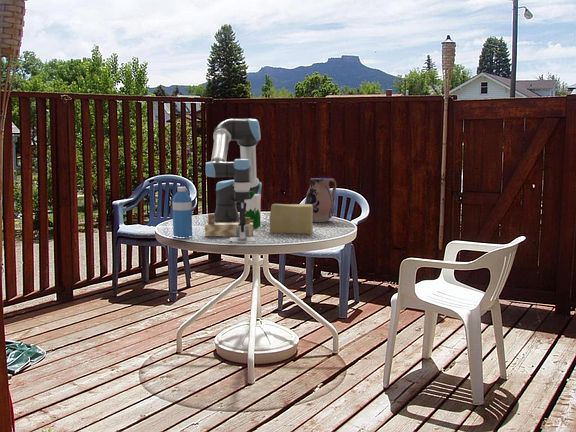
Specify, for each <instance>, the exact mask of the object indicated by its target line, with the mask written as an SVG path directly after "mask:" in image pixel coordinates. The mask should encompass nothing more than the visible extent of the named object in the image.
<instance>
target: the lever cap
mask: <svg viewBox="0 0 576 432" xmlns="http://www.w3.org/2000/svg"><path fill="white" fill-rule="evenodd" d="M235 237H240V226H237V227H236V236H235ZM245 237H250V236H249V228H248V227H245Z"/></svg>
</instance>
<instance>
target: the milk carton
mask: <svg viewBox="0 0 576 432" xmlns="http://www.w3.org/2000/svg"><path fill="white" fill-rule="evenodd" d="M249 192H250V199H248V200H244V201H245V203H246V212H245V217H250V223H253V229H258V228H260V227H261V224H262V223H261V221H262V220H261V216H262V215H261V214H262V213H261V199H262V198H261V197H262V193H261V194H254V191H249Z"/></svg>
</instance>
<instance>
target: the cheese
mask: <svg viewBox="0 0 576 432" xmlns="http://www.w3.org/2000/svg"><path fill="white" fill-rule="evenodd" d="M313 223H314V222H313V205H312V204H305V203H304V204H301V203H299V204H298V203H294V204H293V203H291V204H288V203H287V204H286V203H284V204H283V203H273V204H271V206H270V213H269V233H271V234H272V233H275V234H276V233H278V234H295V233H296V234H299V235H300V234H301V235H312V233H313V228H314V227H313Z"/></svg>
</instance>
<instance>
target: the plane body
mask: <svg viewBox="0 0 576 432" xmlns="http://www.w3.org/2000/svg"><path fill="white" fill-rule="evenodd" d="M245 219H246V221H245V227H248V228H249V236H248V237H254V228H253V223H250V217H245ZM238 224H239V222H215V220H214V213H208V214H207V222H205V223H204V227H205V229H204V234H205V235H204V237H205V236H223V237H237V236H236V227H237V226H239V225H238Z"/></svg>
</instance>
